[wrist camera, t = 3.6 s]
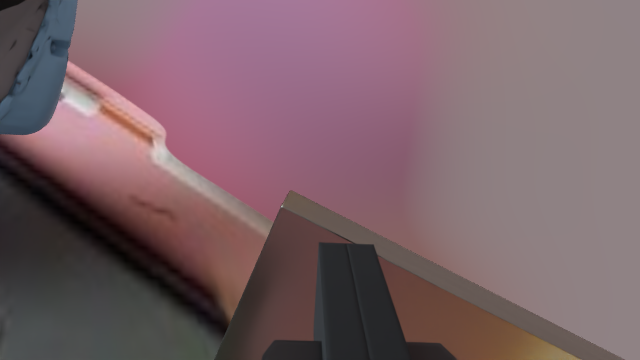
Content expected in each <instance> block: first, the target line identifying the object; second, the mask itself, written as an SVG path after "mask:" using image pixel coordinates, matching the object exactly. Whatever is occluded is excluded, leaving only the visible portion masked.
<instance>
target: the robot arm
mask: <svg viewBox="0 0 640 360" xmlns="http://www.w3.org/2000/svg"><path fill="white" fill-rule="evenodd" d="M76 9H77V0H0V134H13V135H27V134H32V133H35V132H37V131H39V130H41V129H42V128H43V127H45V126H46V125H47V124H48V123H49V121H50V120H51V118H52V116H53V114H54V112H55V109H56V106H57V103H58V100H59V97H60V93H61V89H62V86H63V82H64V77H65V73H66V68H67V62H68V48H69V47H70V43H71V37H72V34H73V30H74V24H75V17H76ZM313 331H314V341H300V340H274V341H273V342H272V344H271V345H270V346H269V347H268V349H267V350H266V351H265V353H264V354H263V355H262V360H457V358H456V357H455V356H453V355H452V354H451V353H450V352H449V351H448V350H447V349H446V348H445V347H444V346H443V345H442V344H441V343H426V342H406V340H405V337H404V334H403V331H402V328H401V325H400V322H399V319H398V316H397V313H396V310H395V307H394V304H393V301H392V298H391V295H390V292H389V289H388V286H387V283H386V280H385V277H384V274H383V271H382V268H381V265H380V262H379V259H378V256H377V253H376V250H375V247H374V244H351V243H325V242H319V246H318V262H317V279H316V296H315V312H314V329H313Z"/></svg>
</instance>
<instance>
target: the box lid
mask: <svg viewBox="0 0 640 360" xmlns="http://www.w3.org/2000/svg"><path fill="white" fill-rule="evenodd" d="M319 242H325V243H351V244H374V247H375V250H376V253H377V256H378V259H379V262H380V265H381V268H382V271H383V274H384V277H385V280H386V283H387V286H388V289H389V292H390V295H391V298H392V301H393V304H394V307H395V310H396V313H397V316H398V319H399V322H400V325H401V328H402V331H403V334H404V337H405V340H406V342H426V343H441V344H442V345H443V346H444V347H445V348H446V349H447V350H448V351H449V352H450V353H451V354H452V355H453V356H455V357H456V358H457V360H624V359H622V358H620V357H618V356H616V355H614V354H612V353H610V352H608V351H607V350H604V349H603V348H601V347H599V346H597V345H595V344H593V343H591V342H589V341H587V340H585V339H583V338H581V337H579V336H577V335H575V334H573V333H571V332H569V331H567V330H565V329H563V328H561V327H559V326H557V325H555V324H553V323H552V322H550V321H548V320H546V319H544V318H542V317H540V316H538V315H536V314H534V313H532V312H530V311H528V310H526V309H524V308H522V307H520V306H518V305H516V304H514V303H512V302H510V301H508V300H506V299H504V298H502V297H500V296H498V295H496V294H494V293H492V292H491V291H489V290H486V289H485V288H483V287H481V286H479V285H477V284H475V283H473V282H471V281H469V280H467V279H465V278H463V277H461V276H459V275H457V274H455V273H453V272H451V271H449V270H447V269H445V268H443V267H441V266H439V265H437V264H435V263H433V262H431V261H430V260H427V259H426V258H424V257H422V256H420V255H418V254H416V253H414V252H412V251H409V250H408V249H406V248H404V247H402V246H400V245H398V244H396V243H394V242H392V241H390V240H388V239H386V238H384V237H382V236H380V235H378V234H376V233H374V232H372V231H370V230H369V229H367V228H365V227H362V226H361V225H359V224H357V223H355V222H353V221H351V220H349V219H347V218H345V217H343V216H341V215H339V214H337V213H335V212H333V211H331V210H329V209H327V208H325V207H323V206H321V205H319V204H317V203H315V202H313V201H311V200H310V199H307V198H306V197H304V196H302V195H300V194H298V193H296V192H294V191H289V193H288V195H287V197H286V198H285V200H284V202H283V204H282V205H281V208H280V210H279V212H278V214H277V217H276V219H275V221H274V224H273V226H272V228H271V230H270V233H269V235H268V237H267V240H266V242H265V244H264V246H263V249H262V251H261V253H260V256H259V258H258V260H257V262H256V265H255V267H254V269H253V272H252V274H251V276H250V279H249V281H248V283H247V285H246V288H245V290H244V292H243V295H242V297H241V299H240V301H239V304H238V306H237V308H236V311H235V313H234V315H233V318H232V320H231V322H230V324H229V327H228V329H227V331H226V334H225V336H224V338H223V340H222V343H221V345H220V347H219V350H218V352H217V354H216V357H215V359H214V360H262V355H263V354H264V353H265V351H266V350H267V349H268V347H269V346H270V345H271V344H272V342H273V341H274V340H300V341H314V331H313V329H314V312H315V296H316V279H317V262H318V246H319Z"/></svg>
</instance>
